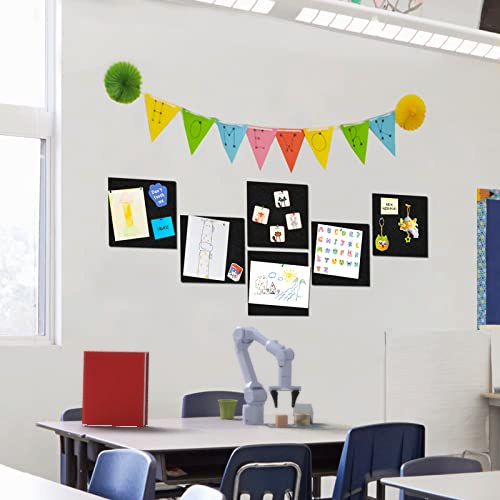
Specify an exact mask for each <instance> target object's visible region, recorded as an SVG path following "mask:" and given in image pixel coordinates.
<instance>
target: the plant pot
mask: <svg viewBox="0 0 500 500" xmlns="http://www.w3.org/2000/svg"><path fill="white" fill-rule="evenodd" d="M217 401H218V405H219V412H220V419H221V420H234V419H235V413H236V407H237V403H238V402H239V400H238V399H217Z"/></svg>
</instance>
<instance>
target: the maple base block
mask: <svg viewBox="0 0 500 500" xmlns="http://www.w3.org/2000/svg"><path fill="white" fill-rule="evenodd" d="M293 424H294V425H295V426H310V424H311V423H310V415H309V414H294V416H293Z"/></svg>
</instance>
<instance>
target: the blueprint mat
mask: <svg viewBox="0 0 500 500" xmlns="http://www.w3.org/2000/svg"><path fill="white" fill-rule="evenodd" d="M264 426H265V427H267V428H269V429H325V427H323V426H322V425H319V424H317V423H310V426H295V425H294V423H293V424H292V423H290V424H289V423H288V427H276V426H275V423H273V424H272V423H269V424H267V423H265V425H264Z"/></svg>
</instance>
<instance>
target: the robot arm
mask: <svg viewBox="0 0 500 500" xmlns="http://www.w3.org/2000/svg"><path fill="white" fill-rule="evenodd" d="M232 338H233V339H232V340H233V341H234V351H235V355H236V359H237V360H238V363H239V367H240V371H241V374H242V376H243V378H244V379H243V380H244V383H245V387H243V395H244V396H243V398H244V401H245V402H246V404H243V405H242V409H241V410H242V412H241V413H242V414H241V415H242V417H241V420H242V422H241V423H242V424H243V425H244V426H245V425H246V426H251V425H252V426H256V425H258V426H261V425H262V426H263V425H264V426H265V424H266V423H265V422H264V421H265V420H264V419H265V416H264V415H265V414H264V413H265V410H264V409H265V404H266V401H267V400H268V395H269V394H268V392H270V396H271V398H272V401H273V404H274V408H275V409H278V405H279V404H278V403H279V401H278V396H279V392H288V391H289V392H290V394H291V395H290V396H291V408H292V409H293V408H294V407H295V403H296V402H297V400H298V398H299V395H300V393H301V391H302V386H301V385H298V386H297V385H296V386H295V385H292V373H293V372H292V370H293V369H292V367H293V366H292V365H293V364H292V363H293V360H294V359H295V352H294V350H293V349H292V348H290V347H288V348H287V347H286V345H283V344H281V343H279V341H278V340H277V339H271V340H270V339H269V338H268V337H266V336H265V335H264V334H263V333H261V332H260V331H259V330H258V329H257V328H255V327H254V326H249V327H248V326H237V327H235V329H234V330H233V333H232ZM253 342H257V343H259V344H260V345H262V346H263V347H265V350H266V351H267V352H268V353H270V355H271V354H272V356H274V357H275V359H276V361H277V365H278V371H277V372H278V375H277V376H278V378H277V379H278V381H277V383H278V384H277V385H272V386H269V385H268V387H267V390H268V392H267V390H266V389H265V388H264V386H263V384H262V383H261V382H259V381H258V377H257V375H256V372H255V369H254V365H253V362H252V359H251V356H250V353H249V350H248V349H249V347H250V346H251V345H252V344H253Z"/></svg>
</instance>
